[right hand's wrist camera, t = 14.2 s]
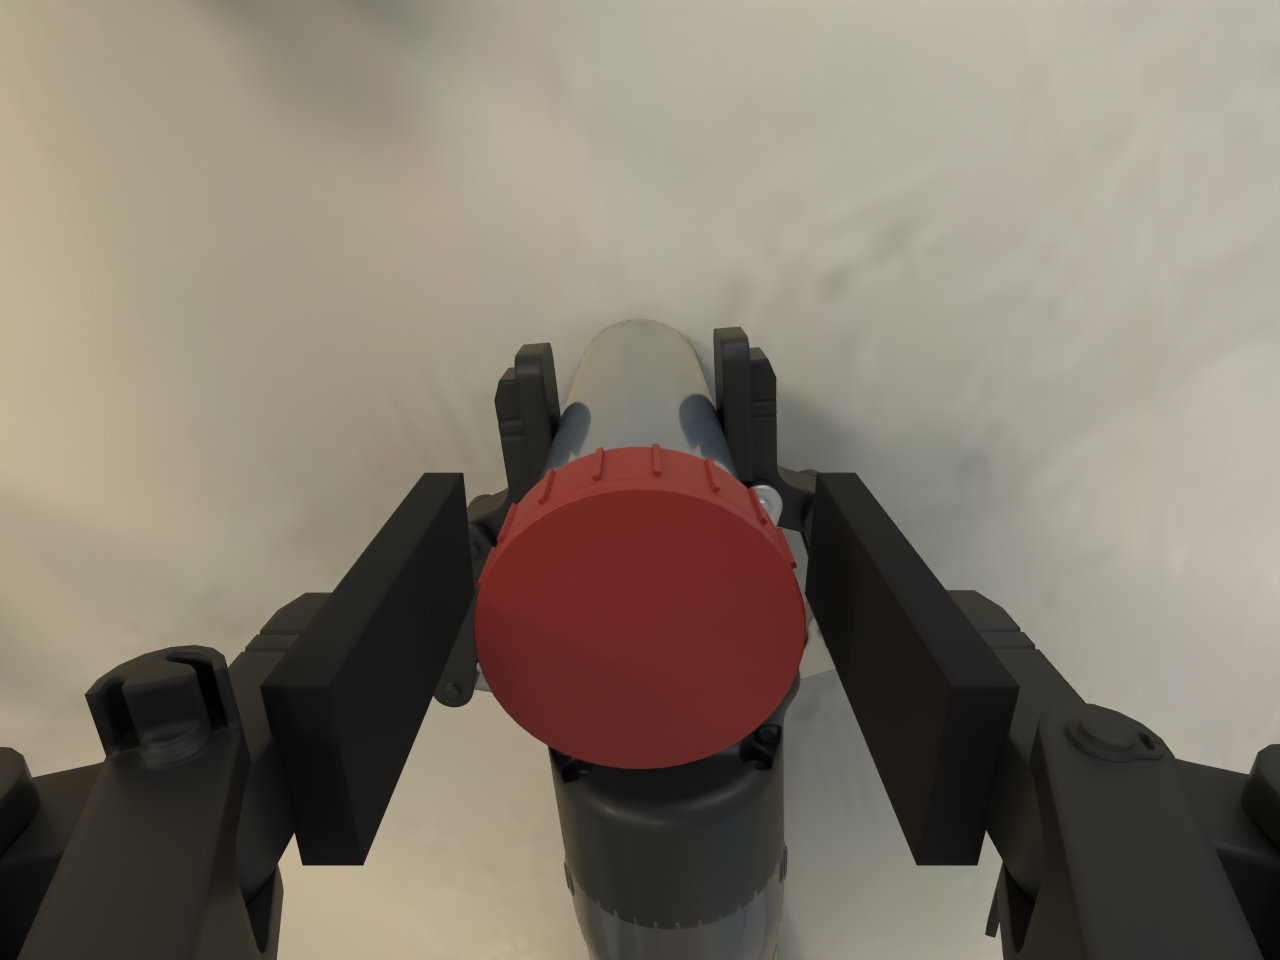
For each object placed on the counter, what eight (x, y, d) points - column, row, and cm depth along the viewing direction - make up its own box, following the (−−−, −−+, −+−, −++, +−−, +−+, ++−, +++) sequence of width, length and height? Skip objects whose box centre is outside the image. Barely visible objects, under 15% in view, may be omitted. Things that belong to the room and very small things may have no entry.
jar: (720, 412, 26) (819, 682, 12) (609, 459, 27) (575, 768, 12) (672, 298, 24) (717, 449, 10) (556, 350, 25) (446, 562, 11)
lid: (829, 643, 13) (856, 709, 11) (571, 737, 14) (561, 810, 12) (724, 391, 11) (739, 425, 10) (435, 515, 12) (403, 566, 10)
